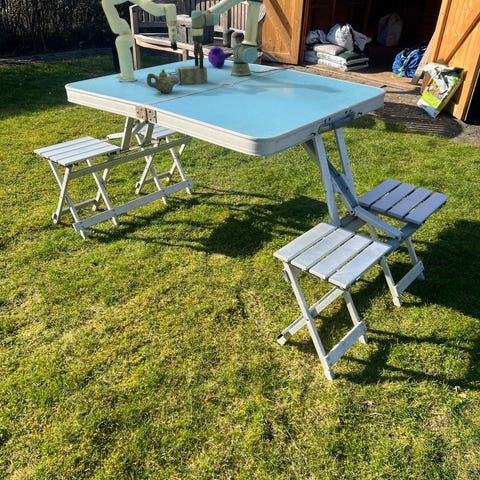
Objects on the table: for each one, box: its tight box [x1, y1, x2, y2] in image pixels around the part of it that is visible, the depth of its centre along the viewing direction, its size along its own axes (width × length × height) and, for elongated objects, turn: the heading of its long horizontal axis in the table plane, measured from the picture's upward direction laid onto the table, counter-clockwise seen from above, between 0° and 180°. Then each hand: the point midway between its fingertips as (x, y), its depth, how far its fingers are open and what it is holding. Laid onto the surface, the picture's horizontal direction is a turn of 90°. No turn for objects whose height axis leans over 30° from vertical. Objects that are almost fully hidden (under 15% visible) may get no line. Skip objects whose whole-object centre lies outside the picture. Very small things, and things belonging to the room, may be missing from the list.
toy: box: [207, 46, 233, 69], centre depth 382 cm, size 16×18×27 cm
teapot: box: [146, 68, 179, 94], centre depth 299 cm, size 21×12×15 cm, turn 109°
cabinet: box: [176, 65, 208, 86], centre depth 328 cm, size 19×10×11 cm, turn 109°
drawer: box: [167, 68, 181, 85], centre depth 326 cm, size 24×9×9 cm, turn 109°
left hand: (174, 49), depth 326 cm, fingers open, 9 cm apart
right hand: (199, 67), depth 327 cm, fingers open, 13 cm apart
